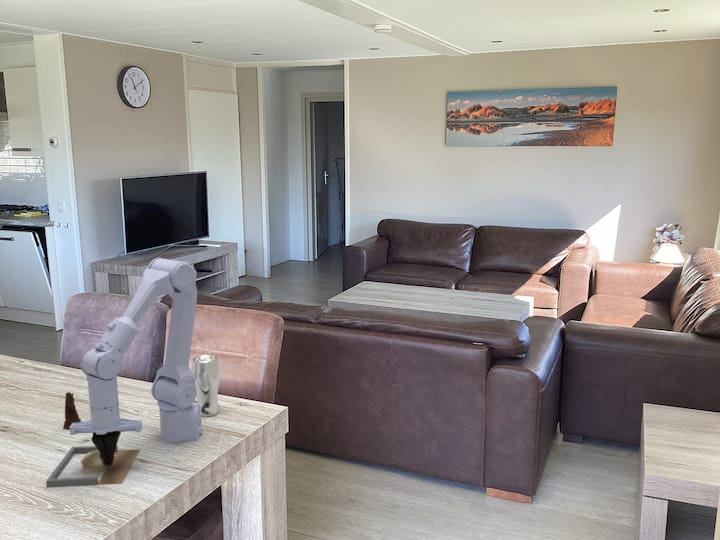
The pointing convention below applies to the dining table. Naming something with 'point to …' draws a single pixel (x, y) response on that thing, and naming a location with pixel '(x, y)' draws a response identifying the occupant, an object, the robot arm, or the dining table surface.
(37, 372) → the dining table surface
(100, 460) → the birch block
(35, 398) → the dining table surface
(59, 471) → the box
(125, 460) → the walnut board
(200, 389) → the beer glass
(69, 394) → the chess piece
